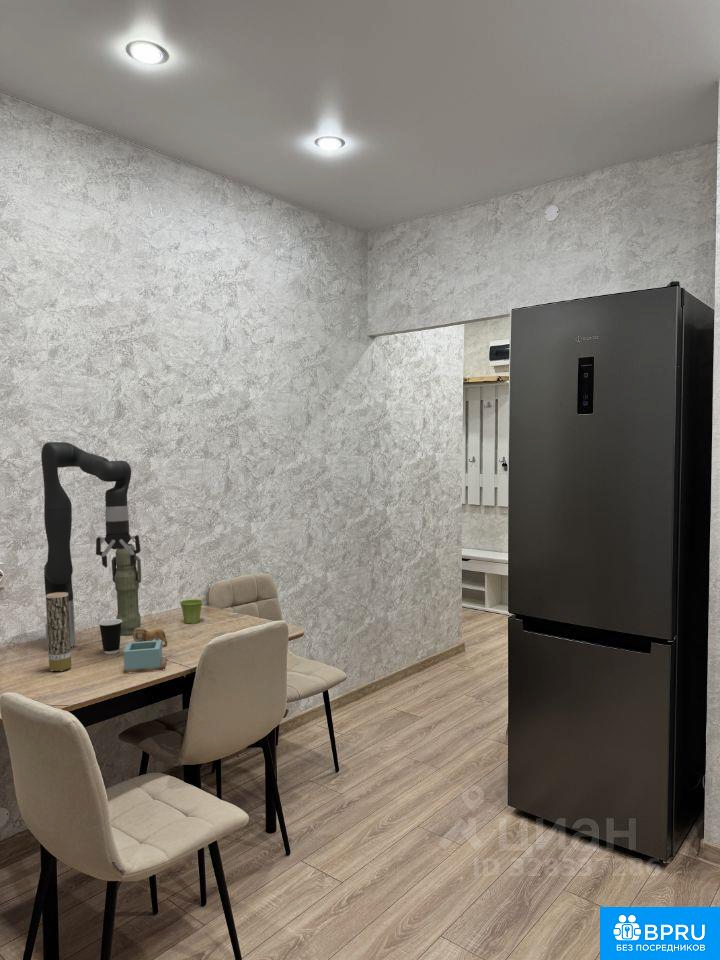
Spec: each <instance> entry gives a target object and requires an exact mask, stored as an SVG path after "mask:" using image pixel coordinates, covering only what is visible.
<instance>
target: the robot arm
mask: <svg viewBox="0 0 720 960" xmlns="http://www.w3.org/2000/svg"><path fill="white" fill-rule="evenodd" d="M40 457H41V469H42V478H43V492H44V493H43V494H44V496H43V497H44V499H43V501H44V502H43V509H44V511H43V513H44V515H43V516H44V518H43V519H44V529H45V534H46V540H47V548H48V549H47V561H46V563H45V565H44V568H43V576H44V577H43V579H44V592H45V596H46V595H47V594H50V593H57V592H67V593H68V599H69V622H70V644H71V647H72V648H74V647H75V646H76V630H75V629H76V627H75V624H76V623H75V609H74V608H75V607H74V606H75V605H74V604H75V603H74V590H73V582H72V581H73V579H72V578H73V577H72V576H73V570H74V569H73V568H74V567H73V564H72V554H71V553H72V552H71V538H72V537H71V535H72V525H73V524H72V520H73V512H72V511H73V509H72V507H73V505H72V501H71V499H70V496H69V495H68V493H67V492H66V491H65V489H64V488H63V486H62V484H61V481H60V478H59V472H58V471H59V470H58V469H59V468H69V467H71V468H72V467H75V468H76V467H77V468H80V470H81V471H82V472H83V473H86V474H89V475H91V476H95V477H97V478H98V479H99V480H101V481H102V482H106V483H107V482H108V483H111V482H112V483H113V482H115V484H114V487H112V488H109V489H106V491H105V494H104V495H105V512H104V516H105V517H104V518H105V537H101V536H98V537H96V540H95V541H96V542H95V555H96V556H100V557H101V564H102V566H103V567H104V568H108V556H107V554H108V553H109V552H110V550H112V549H113V550H116V549H123V548H126V550H127V551H129V553H130V554H131V555H130V563H131V566H133V564H135V554H136V555H138V554H139V553H140V552H141V543H140V542H141V540H140V535H138V534H136V535H131V534H130V521H129V520H130V519H129V518H130V516H129V509H128V508H129V507H128V490H129V486H130V482H131V478H132V467H131V465H130V464H129V463H128V461H126V460H109V459H108V458H106V457H105V456H101V455H97V454H94V453H90V452H87V451H85V450H83V449H81V448H79V447H77V446H76V445H74V444H72V443H70V442H64V441H63V442H62V441H58V442H57V441H48V442H45V443H44V444H43V445H42V448H41V455H40ZM131 540H132V542H133V543H134V545H135V550H133V549H132V547H131V546H130V545H129V544H130V541H131ZM104 542H105V543H106V544H107V546H106V548H105V549H104V551H102V544H103V543H104ZM45 638H46V639H45V640H46V650H47V649H48V634H47V623H46V624H45ZM73 646H74V647H73Z"/></svg>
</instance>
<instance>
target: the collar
mask: <svg viewBox="0 0 720 960" xmlns="http://www.w3.org/2000/svg"><path fill="white" fill-rule="evenodd" d="M162 642H163V641H162V640H160V639H159V640H153V641H143V642H135V641H132V642H131V641H130V642H127V643H126V646H125V648H124V650H123V663H124V664H123V666H124V671H126V670H133V669H145V668H157V667H160V665H161V661H162V657H163V646H162V645H163V643H162Z"/></svg>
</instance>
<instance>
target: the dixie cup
mask: <svg viewBox="0 0 720 960" xmlns="http://www.w3.org/2000/svg"><path fill="white" fill-rule="evenodd" d="M121 622H122V620H120V619H116V618H109V619H105V620H100V621H99V622H98V625H99V630H100V636H101V642H102V650H103V652H104V654H105V653H106V654H105V655H114V654H117V652H118V653H119V652H120V648H121V636H120V635H121Z"/></svg>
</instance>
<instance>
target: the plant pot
mask: <svg viewBox="0 0 720 960" xmlns="http://www.w3.org/2000/svg"><path fill="white" fill-rule="evenodd" d="M203 603H204V600H202V599H193V598H192V599H184V600H181V601H180V602H179V604H180V608H181V609H182V616H183V622H184V624H186V623H188V624H191V623H194V624H198V623H199V622H200V619H201V612H202V611H201V610H202V606H203ZM197 622H198V623H197Z"/></svg>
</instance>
